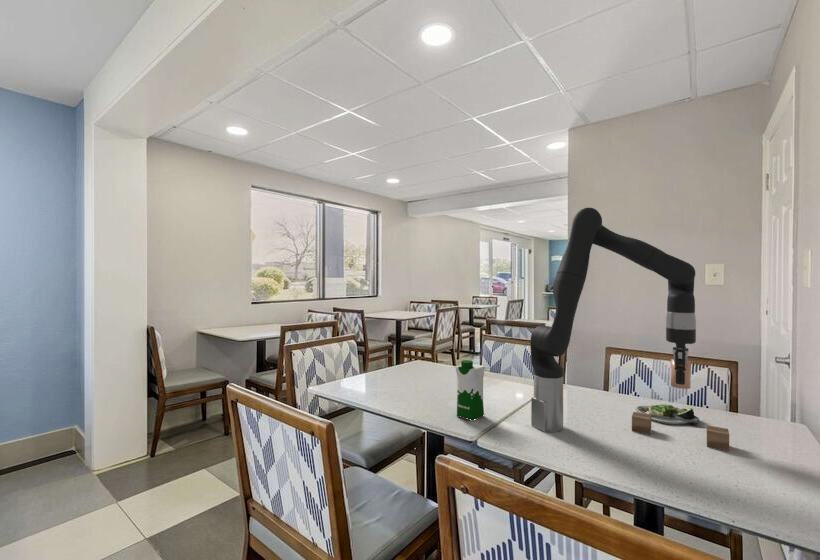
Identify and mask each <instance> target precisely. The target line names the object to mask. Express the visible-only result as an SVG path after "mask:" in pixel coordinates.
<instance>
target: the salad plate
mask: <svg viewBox="0 0 820 560" xmlns="http://www.w3.org/2000/svg"><path fill="white" fill-rule="evenodd" d="M635 410H636V412H639V413H644V414H650V415H651V421H653V422H656V421H657V422H658V423H660V422H661V423H660V424H665V425H680V424H684V425H685V426H687V425H686V424H693V425H696V424H701V423H702V421H700V418H699V417H698V416H697V415H695V411H694V409H693V407H689V408H680V407H678V406H673V405H671V404H663V403H662V404H661V403H660V404H656V405H655V404H654V405H653V404H651V405H637V406H636V408H635ZM647 411H648V412H649V413H647ZM645 412H646V413H645Z"/></svg>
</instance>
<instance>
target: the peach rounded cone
mask: <svg viewBox="0 0 820 560" xmlns="http://www.w3.org/2000/svg"><path fill="white" fill-rule="evenodd" d="M691 363H692V362H691V360H689V359H687V365H685V369H686V371H685V384H684V385H681V384H677V383H676V371H675V363H674V358H671V359H670V386H671V387H673V388H676V389H681V390H682V389H684V390H689V389H691V387H692V386H691V384H692V383H691V382H692V381H691V380H692V379H691V376H692V375H691V373H692V371H691V367H692V366H691ZM677 366H678V367H683V364H677Z"/></svg>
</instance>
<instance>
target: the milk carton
mask: <svg viewBox="0 0 820 560" xmlns="http://www.w3.org/2000/svg"><path fill="white" fill-rule="evenodd" d="M460 363H461V364H460V365H459V364H458V365H456V366H455V373H456V397H457V398H456V400H457V401H456V417H457V416H461V417H464V418H468V419H471V420H474V419H477V418H479V417H481V416H483V415H484V416H485V411H484V409H485V408H484V376H485V371H486V370H485V369H486V366H485V365H480V364H476V363H473V361H472V360H466V359H465V360H464V359H463V360H461V362H460ZM484 416H483V417H484ZM481 418H482V417H481ZM479 419H480V418H479ZM477 420H478V419H477Z"/></svg>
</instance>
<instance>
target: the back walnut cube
mask: <svg viewBox="0 0 820 560" xmlns="http://www.w3.org/2000/svg"><path fill="white" fill-rule="evenodd" d="M631 432H632V433H633V432H634V433H637V434H638V433H639V434H644V435H648V436H649V435H651V432H652V420H651V415H650V414H649V413H647V414H644V413H639V412H637V411H633V413H632V414H631Z"/></svg>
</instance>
